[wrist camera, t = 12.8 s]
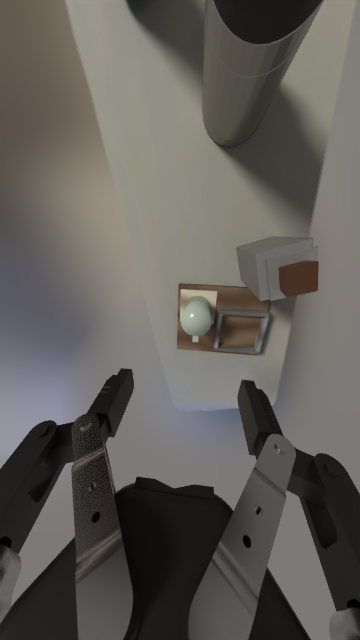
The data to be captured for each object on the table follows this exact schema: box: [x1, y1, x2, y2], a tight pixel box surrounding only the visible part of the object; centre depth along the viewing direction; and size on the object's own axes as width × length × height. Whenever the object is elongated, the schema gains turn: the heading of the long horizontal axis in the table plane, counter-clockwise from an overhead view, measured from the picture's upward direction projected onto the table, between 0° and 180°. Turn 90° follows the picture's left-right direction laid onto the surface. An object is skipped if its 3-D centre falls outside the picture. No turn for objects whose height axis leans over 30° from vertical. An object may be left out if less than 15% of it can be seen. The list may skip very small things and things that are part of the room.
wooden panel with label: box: [177, 283, 270, 355], centre depth 41 cm, size 17×20×3 cm
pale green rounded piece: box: [181, 296, 211, 342], centre depth 37 cm, size 6×8×8 cm
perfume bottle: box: [236, 237, 318, 301], centre depth 28 cm, size 7×7×18 cm
